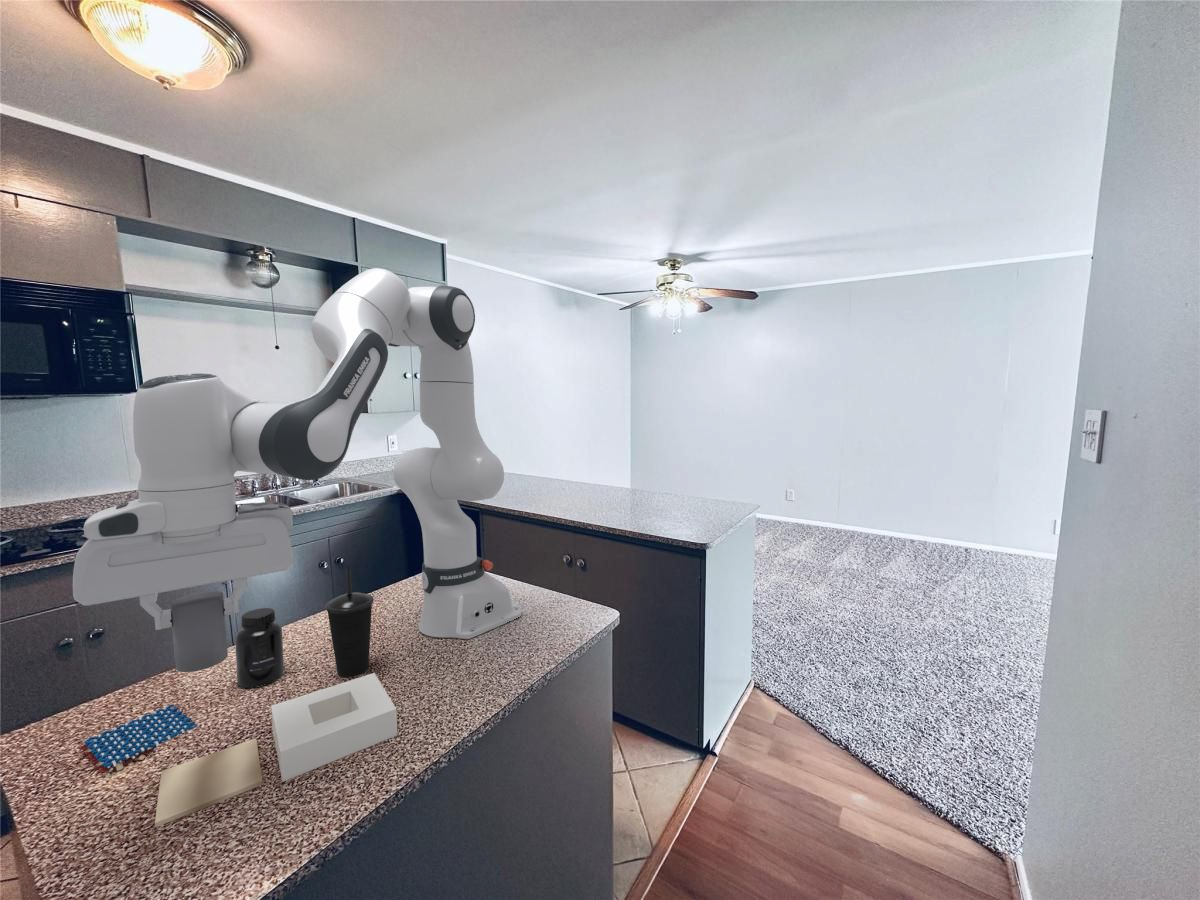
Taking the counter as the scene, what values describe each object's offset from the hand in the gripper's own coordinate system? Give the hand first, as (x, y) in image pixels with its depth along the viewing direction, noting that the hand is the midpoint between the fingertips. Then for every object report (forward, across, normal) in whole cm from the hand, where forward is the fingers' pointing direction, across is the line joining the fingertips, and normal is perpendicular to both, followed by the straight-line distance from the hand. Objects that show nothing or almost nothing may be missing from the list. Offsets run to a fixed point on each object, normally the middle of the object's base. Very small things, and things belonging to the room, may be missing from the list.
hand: (199, 619), depth 60 cm
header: (+22, -14, 0) cm, 26 cm away
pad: (+22, 0, 0) cm, 22 cm away
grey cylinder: (+5, 0, 0) cm, 5 cm away
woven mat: (+23, +8, -17) cm, 30 cm away
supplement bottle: (+22, -7, -26) cm, 35 cm away
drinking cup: (+22, -20, -17) cm, 34 cm away
